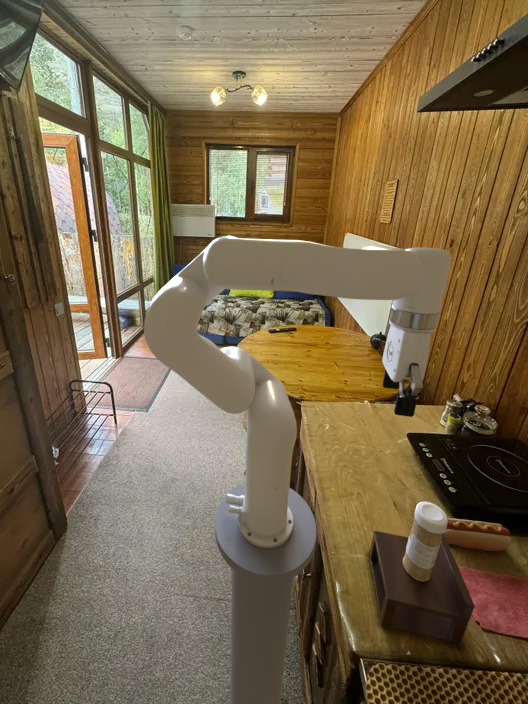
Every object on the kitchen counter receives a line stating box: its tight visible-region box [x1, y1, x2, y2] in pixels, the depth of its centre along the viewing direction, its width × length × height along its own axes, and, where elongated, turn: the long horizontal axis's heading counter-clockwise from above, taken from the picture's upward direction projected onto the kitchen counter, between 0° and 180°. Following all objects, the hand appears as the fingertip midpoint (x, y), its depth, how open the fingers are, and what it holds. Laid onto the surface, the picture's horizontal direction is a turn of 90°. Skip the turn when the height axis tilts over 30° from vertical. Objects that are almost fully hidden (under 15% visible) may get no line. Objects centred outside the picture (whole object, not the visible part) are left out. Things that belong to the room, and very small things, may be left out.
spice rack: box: [368, 530, 476, 647], centre depth 55 cm, size 12×12×10 cm
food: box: [443, 517, 513, 552], centre depth 66 cm, size 14×6×5 cm, turn 83°
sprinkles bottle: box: [403, 501, 449, 582], centre depth 53 cm, size 5×5×13 cm
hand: (396, 400), depth 61 cm, fingers open, 9 cm apart
